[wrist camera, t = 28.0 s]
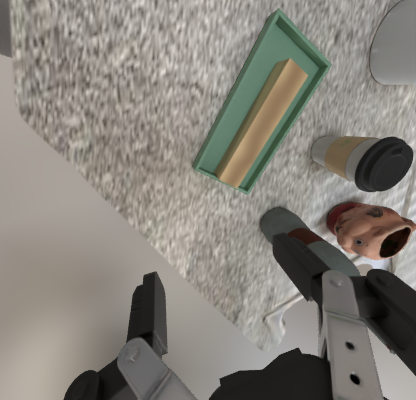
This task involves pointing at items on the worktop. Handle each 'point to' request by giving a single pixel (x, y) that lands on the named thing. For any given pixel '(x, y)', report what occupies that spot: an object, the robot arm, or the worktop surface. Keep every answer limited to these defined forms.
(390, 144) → the coffee cup
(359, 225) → the decorative planter
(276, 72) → the beech stick
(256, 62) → the tray
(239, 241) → the worktop surface
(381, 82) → the utensil holder
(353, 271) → the vodka
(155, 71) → the worktop surface
